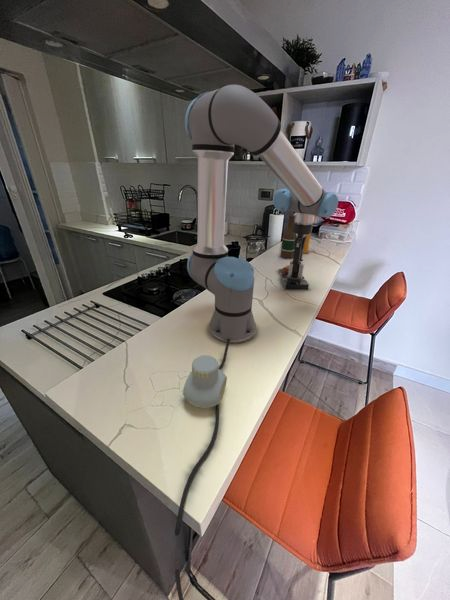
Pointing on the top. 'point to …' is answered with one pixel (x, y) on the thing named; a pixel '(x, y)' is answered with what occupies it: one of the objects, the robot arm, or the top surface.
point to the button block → (283, 271)
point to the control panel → (294, 283)
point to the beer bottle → (288, 239)
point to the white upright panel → (298, 272)
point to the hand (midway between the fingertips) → (295, 276)
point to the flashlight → (307, 240)
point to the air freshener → (205, 383)
